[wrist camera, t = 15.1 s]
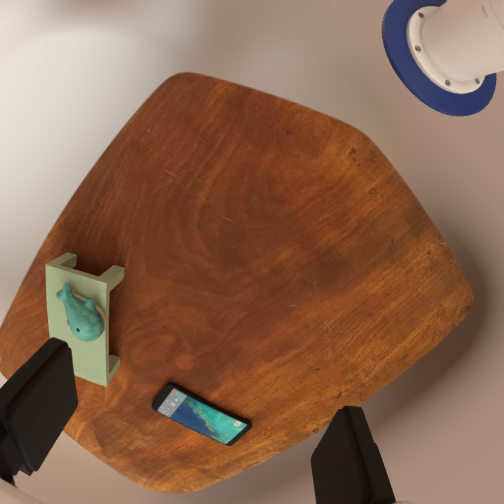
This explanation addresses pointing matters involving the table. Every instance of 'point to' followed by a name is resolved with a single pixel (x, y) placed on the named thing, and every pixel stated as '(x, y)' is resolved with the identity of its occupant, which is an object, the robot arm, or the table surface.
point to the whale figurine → (82, 314)
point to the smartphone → (200, 415)
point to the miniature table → (83, 284)
